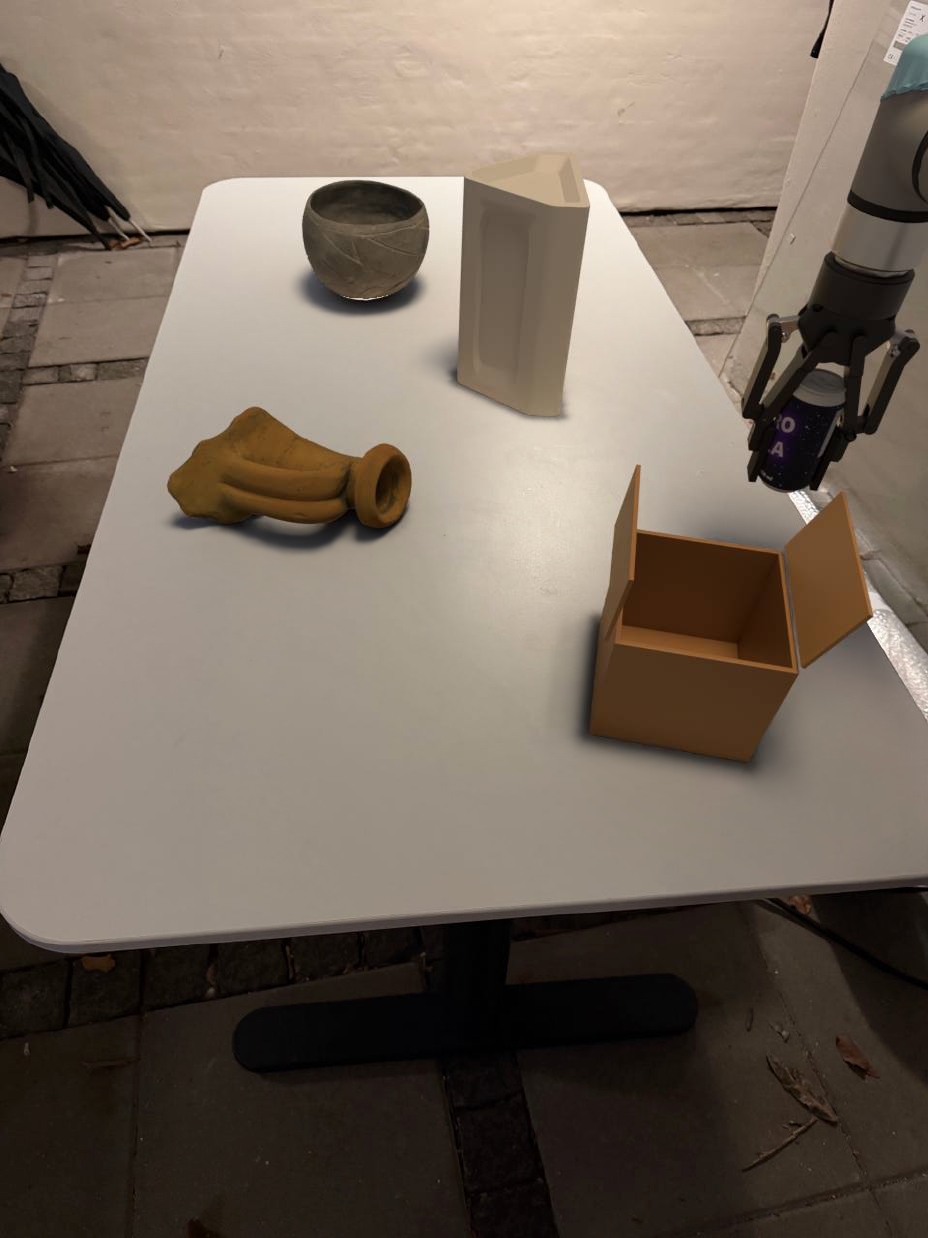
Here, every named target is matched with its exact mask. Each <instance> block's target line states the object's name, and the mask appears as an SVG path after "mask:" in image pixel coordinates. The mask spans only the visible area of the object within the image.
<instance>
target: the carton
mask: <svg viewBox="0 0 928 1238" xmlns="http://www.w3.org/2000/svg"><path fill="white" fill-rule="evenodd" d="M641 467H642V465H641V464H636V465H635V468H634V470H633V473H632V475H631V479H630V481H629V484H628V487H627V490H626V493H625V494H624V495H625V496H624V498H623V501H622V503H621V507H620V508H619V512H618V515H617V518H616V520H615V523H614V527H613V538H612V548H611V559H610V570H609V580H608V581H609V583H608V588H607V591H606V596H605V599H604V604H603V608H602V611H601V616H600V620H599V628H598V629H599V630H598V639H597V649H596V657H595V669H594V679H593V687H592V688H593V689H592V699H591V709H590V718H589V719H590V720H589V728H588V729H589V730H588V735H593V736H597V737H604V738H609V739H614V740H621V741H625V742H632V743H636V744H643V745H647V746H653V747H660V748H664V749H670V750H676V751H681V752H687V753H693V754H698V755H703V756H710V757H713V758H715V757H716V758H721V759H724V760H725V759H727V760H731V761H737V762H743V763H749V761H750V759H751V758H752V756H753V754H754V753H755V751H756V750H757V748H758V746H759V744H760V743H761V741H762V739H763V737H764V736H765V734H766V732H767V730H768V729H769V727H770V725H771V723H772V722H773V720H774V718H775V717H776V715H777V713H778V712H779V710H780V708H781V707H782V705H783V703H784V701H785V700H786V697H787V696H788V694H789V693H790V691H791V689H792V687H793V685H794V684H795V682H796V680H797V679H798V677H799V676H800V670H799V663H798V662H799V661H798V654H797V647H796V638H795V631H794V624H793V623H794V622H793V615H792V607H791V601H790V592H789V586H788V577H787V569H786V563H785V562H786V561H785V555H784V551H783V550H777V549H771V548H764V547H758V546H757V547H756V546H751V545H744V544H737V543H731V542H726V541H725V542H724V541H718V540H712V539H704V538H700V537H699V538H698V537H691V536H685V535H680V534H679V535H678V534H672V533H666V532H659V531H652V530H646V529H639V528H638V520H639V519H638V518H639V516H638V515H639V505H640V503H639V501H640V489H641V487H640V485H641V471H642V470H641V469H642V468H641Z"/></svg>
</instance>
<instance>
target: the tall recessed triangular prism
mask: <svg viewBox="0 0 928 1238" xmlns="http://www.w3.org/2000/svg"><path fill="white" fill-rule="evenodd" d="M578 159H579V158H578V155H577V154H576V153H573V152H564V151H563V152H562V151H538V152H533V153H529V154H525V155H521V156H517V157H516V156H515V157H512V158H508V159H504V160H499V161H495V162H490V163H486V164H481V165H477V166H473V167H470V168H469V167H468V168H466V169H464V171H463V189H462V191H463V193H462V219H461V220H462V221H461V222H462V223H461V224H462V225H461V250H460V253H461V254H460V279H459V280H460V281H459V282H460V284H459V309H458V310H459V311H458V313H459V315H458V338H457V339H458V340H457V341H458V343H457V367H456V370H457V371H456V373H457V374H456V380H457V383H458V384H460V385H462V386H465V387H466V388H468V389H470V390H473V391H475V392H477V393H478V394H482V395H484V396H486V397H488V398H490V399H492V400H494V401H497V402H499V403H501V404H503V405H505V406H508V407H510V408H511V409H514V410H516V411H518V412H520V413H522V414H525V415H527V416H528V415H529V416H539V417H557V416H559V415H560V413H561V406H562V401H563V393H564V387H565V379H566V373H567V365H568V358H569V352H570V345H571V339H572V331H573V324H574V318H575V312H576V305H577V297H578V291H579V285H580V277H581V271H582V265H583V257H584V250H585V244H586V237H587V230H588V223H589V218H590V217H589V216H590V211H591V210H590V209H591V202H590V198H589V195H588V192H587V188H586V187H587V186H586V184H585V181H584V177H583V174H582V170H581V167H580V162H579V160H578Z"/></svg>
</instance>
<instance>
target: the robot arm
mask: <svg viewBox="0 0 928 1238" xmlns="http://www.w3.org/2000/svg"><path fill="white" fill-rule="evenodd" d="M879 102H880V103H879V105H878V108H877V111H876V114H875V117H874V119H873V123H872V125H871V128H870V131H869V133H868V136H867V140H866V142H865V145H864V148H863V150H862V154H861V157H860V160H859V161H858V165H857V168H856V170H855V174H854V176H853V179H852V182H851V185H850V188H849V191H848V194H847V197H846V200H845V202H844V204H843V208H842V210H841V212H840V215H839V218H838V220H837V223H836V226H835V228H834V231H833V234H832V236H831V239H830V241H829V249H830V251H829V252H828V253H826V254H825V256H824V257H823V260H822V262H821V266H820V269H819V270H818V272H817V273H818V274H817V276H816V279H815V281H814V285H813V287H812V289H811V292H810V295H809V298H808V301H807V302H806V303H805V305H803V307H802V308H801V309H799V311H798V312H797V314H795V315H788V316H782V317H780V315H778V314H777V313H770V314H768V315H767V316H766V319H765V339H764V341H763V343H762V346H761V348H760V351H759V354H758V356H757V359H756V362H755V364H754V366H753V368H752V371H751V375H750V376H749V378H748V382H747V384H746V387H745V389H744V392H743V394H742V397H741V399H740V409H741V417H742V419H744V420H751V421H752V424H751V427H750V429H749V433H748V435H747V438H746V442H747V448H748V449H747V450H748V451H749V452H751V455H750V457H749V461H748V463H747V466H746V472H747V481H748V483H749V482H750V483H757V480H758V478H759V476H758V475H759V472H760V470H761V467H762V464H763V462H764V459H765V457H766V454H767V451H768V449H769V446H770V444H771V441H772V438H773V436H774V433H775V431H776V430H775V424H774V420H775V417H776V415H777V414H778V413H779V412H780V410H781V409H782V408H783V406H784V405H785V404H786V402H787V401H788V400H789V398H790V397H791V395H792V394H793V393H794V392H795V391H796V389H797V388H798V387H799V385H800V384H801V383H802V381H803V380H804V379H805V377H806V376H807V375H808V374H809V373H811V372H812V371H813V370H814V369H815V368H817V367H818V365H819V364H831V363H833V364H836V365H838V366H841V367H843V374H842V375H843V376H842V377H843V378H844V385H845V389H847V390H846V403H845V406H844V408H843V410H842V412H841V415H840V417H839V419H838V422H839V424H838V423H837V424H836V426H835V428H834V430H833V433H832V435H831V437H830V439H829V441H828V444H827V446H826V448H825V450H824V453H823V455H822V457H821V459H820V462H819V464H818V466H817V468H816V471H815V473H814V475H813V477H812V480H811V482H810V484H809V485H808V488H809V491H811V492H812V491H814V492H818V490H819V488H820V485H821V483H822V481H823V479H824V477H825V475H826V473H827V470H828V468H829V466H830V464H831V462H832V463H839V462H840V461H841V460H842V459H843V457H844V455H845V453H846V451H847V448H848V446H849V444H850V443H853V442H855V441H856V440H857V438H858V435H861V434H865V435H866V436H872V435H875V434H876V433H877V432H878V429H879V427H880V425H881V422H882V420H883V417H884V415H885V413H886V411H887V408H888V406H889V403H890V402H891V399H892V397H893V395H894V392H895V390H896V388H897V385H898V383H899V380H900V378H901V376H902V374H903V371H904V369H905V366H906V365H907V364H908V363H909V362H910V361H911V359H913V357H914V356H915V355H916V354H917V353H918V352H919V350H920V349H921V344H920V341H919V338H918V336H917V334H916V333H915V331H914V329H912V328H911V329H910V328H908V329H905V330H903V329H901V328H900V327H897V326H896V325H897V324H896V318H897V315H898V313H899V312H900V311H901V307H902V305H903V303H904V301H905V299H906V297H907V295H908V292H909V290H910V288H911V286H912V283H913V281H914V280H915V277H916V272H915V269H916V268H918V267H919V266H920V265H921V264H922V263H923V261H924V258H925V256H926V253H927V252H928V33H923V34H919V35H918V36H915V37H914V38H912V39H911V40H910V41H908V43H907V44H906V45H905V46H904V48H903V49H902V51H901V53H900V56H899V58H898V61H897V63H896V66H895V67H894V70H893V73H892V75H891V76H890V80H889V82H888V84H887V87H886V89H885V91H884V92H883V93H882V95H881V96H880V99H879ZM795 331H798V332H799V334H800V338H801V341H802V343H801V344H800V345H799V346H798V348H797V350H796V352H795V355H794V356H793V358H792V359H791V360H790V362H789V363H788V364H787V366H786V367H785V368H784V370H783V372H782V373H781V374H780V376H779V377H778V378H777V379H776V381H775V383H774V384H773V385H772V387H771V388H770V389H769V390H768V392H767V394H766V395H765V396H764V398H763V395H764V393H765V391H766V388H767V386H768V383H769V381H770V379H771V376H772V374H773V371H774V369H775V366H776V364H777V362H778V359H779V357H780V354H781V352H782V351H781V350H782V345H783V344H786V343H787V342H788V341H789V339H790V338H791V335H792V333H793V332H795ZM885 343H886V353H885V355H884V357H883V359H882V362H881V365H880V367H879V369H878V371H877V374H876V376H875V379H874V381H873V384H872V387H871V388H870V392H869V394H868V397H867V399H866V401H865V404H864V405H863V409H862V411H861V413H860V415H859V407H860V399H861V389H862V379H863V376H864V371H865V363H866V357H867V356H869V355H870V354H871V353H873V352H874V351H876V350H877V349H878V348H880V347H881V346H882V345H884V344H885ZM762 398H763V399H762Z"/></svg>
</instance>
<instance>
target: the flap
mask: <svg viewBox="0 0 928 1238" xmlns="http://www.w3.org/2000/svg"><path fill="white" fill-rule="evenodd" d="M855 533H856V532H855V529H854V524H853V520H852V516H851V511H850V507H849V502H848V498H847V494H846V491H843V490H841V491H840V492H839V493H837V495H836V496H835V497H834V498H833V499H832V500H831V501H829V502H828V504H827V505H825V506H824V507H823V508H822V509H821V510H820V511H819V512H818V513H817V514H816V515H815V516H814V517H812V519H811V520H810V521H809V522H807V524H805V525H804V526H803V527H802V528H801V529H800V530H799V531H798V532H797V533H796V534H794V536H793V537H792V538H791V539H790V540H789V541H787V543H786V544H784V550H785V557H786V565H787V572H788V573H787V574H788V580H789V587H790V595H791V602H792V610H793V618H794V625H795V632H796V640H797V647H798V656H799V663H800V668H802V669H803V670H805V669H807V668H808V667H810V666H811V665H813V664H814V663H815V662H817V660H819V659H820V658H821V657H822V656H824V655H825V654H827V653H828V652H829V651H831V650H832V649H833V648H834V647H836V646H837V645H838V644H840V643H841V642H842V641H843V640H845V639H847V638H848V637H849V636H850V635H851V634H853V633H854V632H855V631H857V630H858V629H860V628H861V627H862V626H864V624H865V625H866V623H867V622H869V621H870V620H871V619H873V618H874V616H875V615H874V611H873V607H872V603H871V599H870V594H869V590H868V585H867V580H866V577H865V572H864V568H863V564H862V558H861V555H860V550H859V546H858V545H859V544H858V541H857V537H856V534H855Z"/></svg>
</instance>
